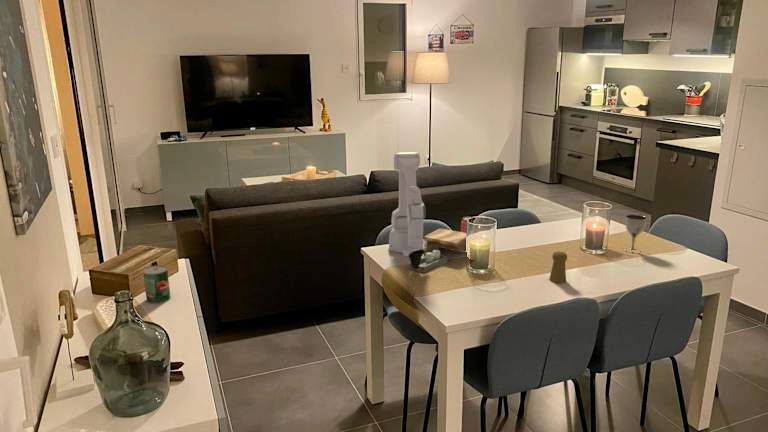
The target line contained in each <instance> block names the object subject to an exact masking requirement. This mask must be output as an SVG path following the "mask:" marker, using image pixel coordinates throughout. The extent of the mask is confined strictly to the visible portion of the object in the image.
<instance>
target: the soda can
mask: <svg viewBox="0 0 768 432" xmlns="http://www.w3.org/2000/svg"><path fill="white" fill-rule="evenodd" d="M469 218H475V217H473V216H463V217H462V220H461V223H460V232H463V233H466V231H467V220H468V219H469Z"/></svg>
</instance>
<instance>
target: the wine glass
mask: <svg viewBox="0 0 768 432" xmlns="http://www.w3.org/2000/svg"><path fill="white" fill-rule="evenodd" d="M646 225H647V217H646V216H644V215H641V214H634V213H633V214H626V216H625V228H626V231H627V232H628V233H629V235H630V236H631V247H628V248H629V249H631V250H636V249H637V248H635V242H636V238H637V237H638V236H639V235H641V233H642V232H643V231H644V230H645V228H646ZM634 248H635V249H634Z"/></svg>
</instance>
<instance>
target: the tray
mask: <svg viewBox="0 0 768 432" xmlns="http://www.w3.org/2000/svg"><path fill="white" fill-rule="evenodd" d="M447 261H449V260H448V256H446V255H443V254H441V250H440V249H437V250H433V252H432V253H431V252H428V253H426V256H422V257H421V260H420V264H419V267H418V269H415V270H414V268H412V265H411V262H408V263H409V265H408V269H410V268H411V270H414V271H417V272H421V273H425V272H427V270H428V271H429V269H430V270H431V269H434V268H437V267H438V265H439V266H441V265H443V264H445V262H446V263H447ZM440 264H441V265H440ZM436 266H437V267H436Z"/></svg>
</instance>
